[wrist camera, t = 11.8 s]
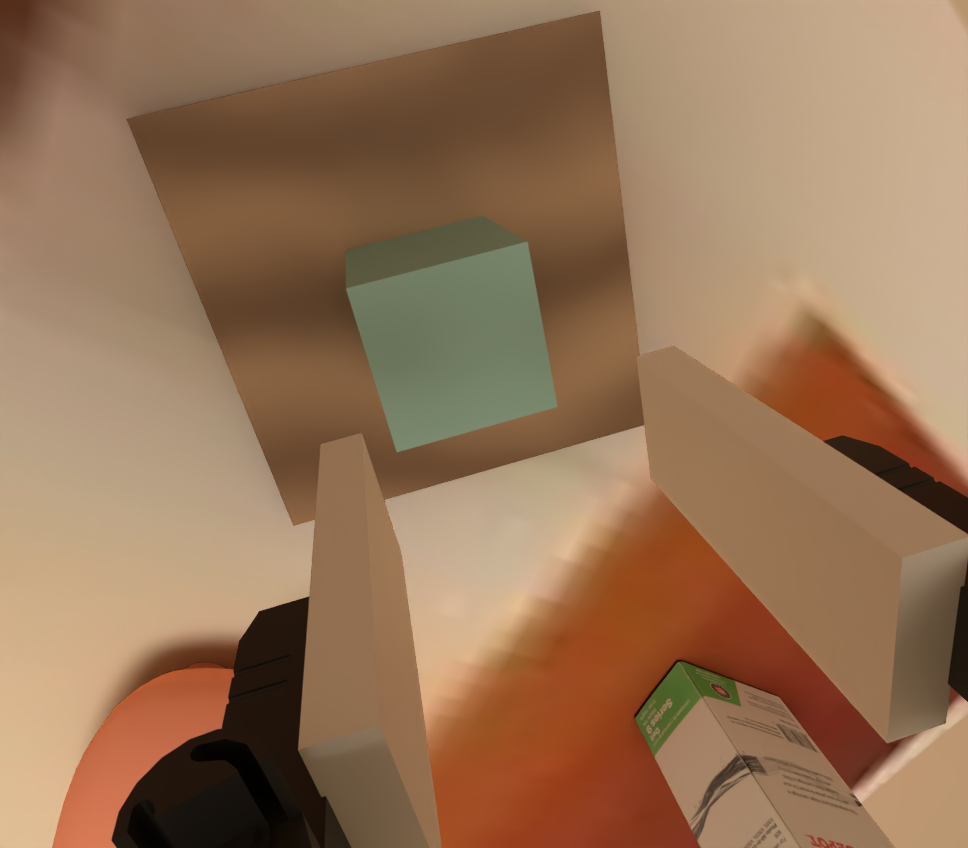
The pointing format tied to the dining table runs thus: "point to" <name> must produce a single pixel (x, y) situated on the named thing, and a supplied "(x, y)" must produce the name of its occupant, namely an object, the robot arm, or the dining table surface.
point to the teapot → (138, 747)
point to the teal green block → (451, 329)
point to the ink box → (748, 768)
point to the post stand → (397, 212)
